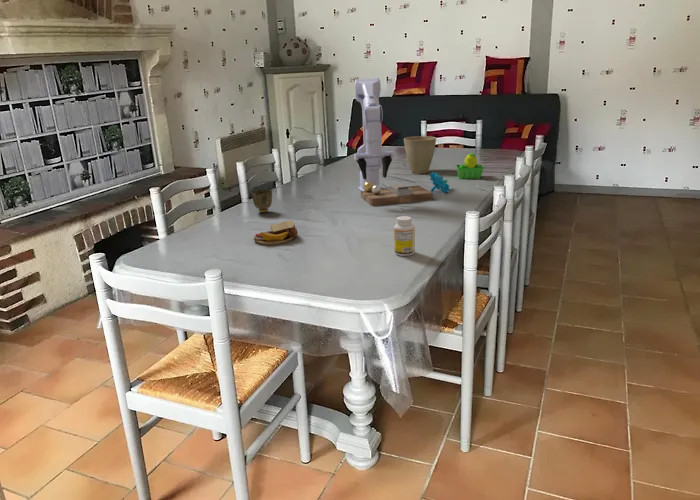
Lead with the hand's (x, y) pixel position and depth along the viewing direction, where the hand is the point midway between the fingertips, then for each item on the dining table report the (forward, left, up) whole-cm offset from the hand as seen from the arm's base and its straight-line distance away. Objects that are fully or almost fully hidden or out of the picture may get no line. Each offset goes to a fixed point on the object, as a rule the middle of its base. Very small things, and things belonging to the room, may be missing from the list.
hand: (374, 178), depth 205 cm
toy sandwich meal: (+28, -41, -10) cm, 51 cm away
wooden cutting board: (-6, +10, -10) cm, 15 cm away
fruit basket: (-28, +52, -10) cm, 60 cm away
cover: (-4, +11, -7) cm, 14 cm away
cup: (-5, -41, -10) cm, 42 cm away
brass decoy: (-11, +1, -5) cm, 12 cm away
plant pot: (-49, +37, -10) cm, 62 cm away
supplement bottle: (+56, -9, -10) cm, 57 cm away
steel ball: (-5, +2, -6) cm, 8 cm away
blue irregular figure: (-9, +30, -10) cm, 33 cm away
